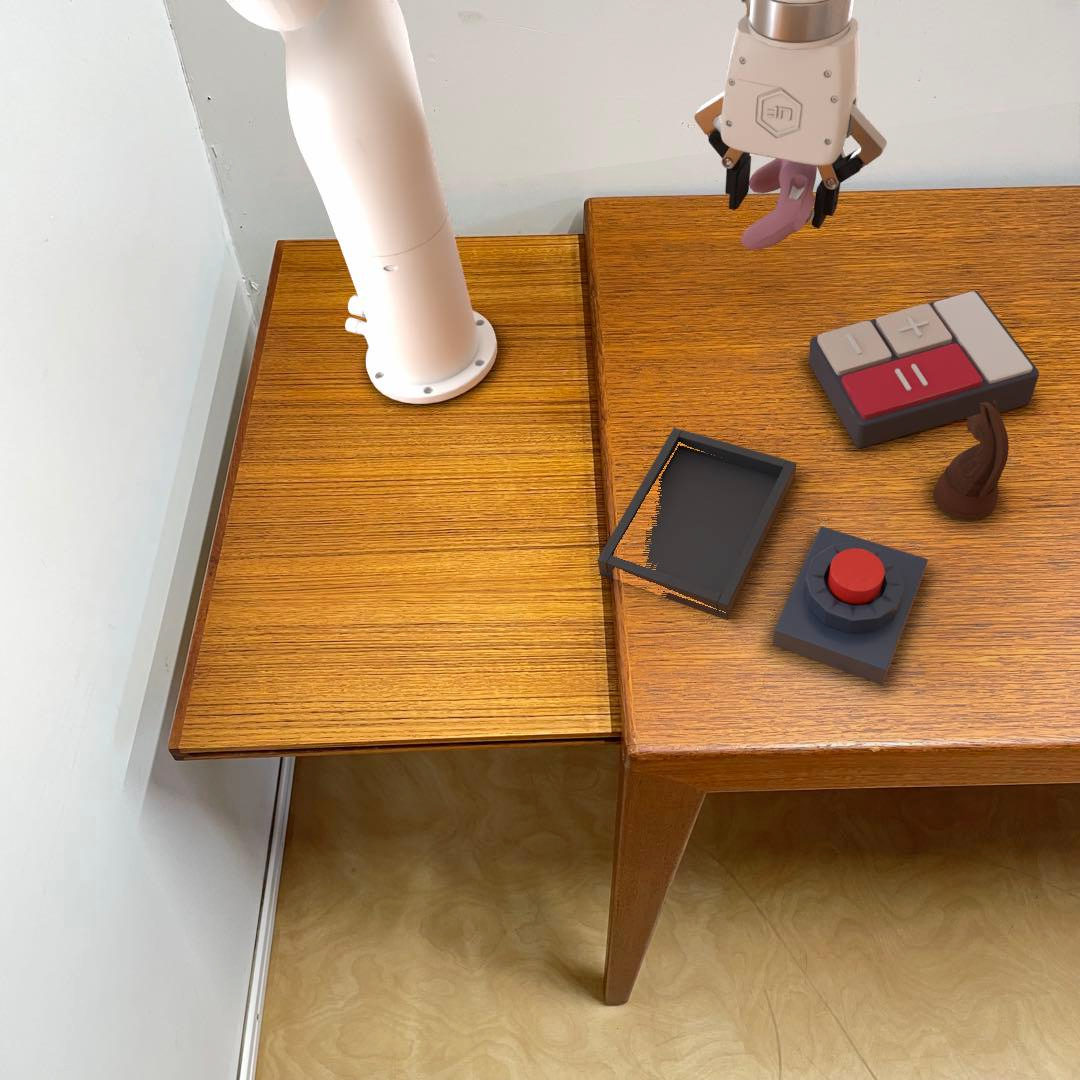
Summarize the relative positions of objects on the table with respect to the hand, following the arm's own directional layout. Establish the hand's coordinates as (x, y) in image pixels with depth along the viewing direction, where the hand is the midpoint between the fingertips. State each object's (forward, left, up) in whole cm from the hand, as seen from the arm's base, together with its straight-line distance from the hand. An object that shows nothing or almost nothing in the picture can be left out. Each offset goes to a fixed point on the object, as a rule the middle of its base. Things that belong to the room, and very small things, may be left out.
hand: (779, 208), depth 88 cm
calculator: (+16, -9, -8) cm, 20 cm away
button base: (+18, -33, -8) cm, 38 cm away
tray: (+5, -30, -8) cm, 31 cm away
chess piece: (+23, -20, -8) cm, 31 cm away
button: (+18, -33, -5) cm, 37 cm away
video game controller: (0, 0, -1) cm, 1 cm away
